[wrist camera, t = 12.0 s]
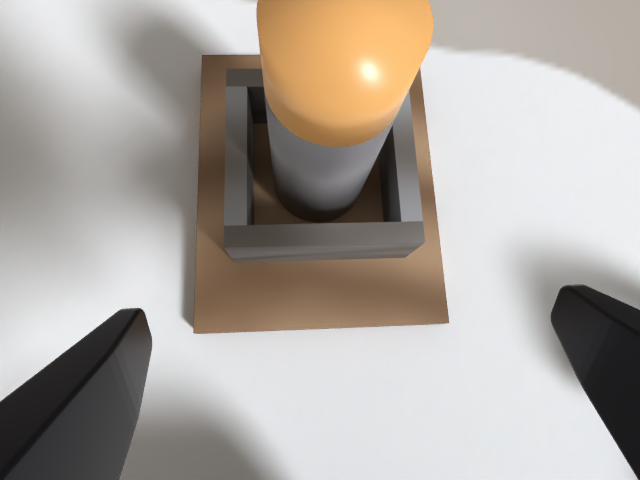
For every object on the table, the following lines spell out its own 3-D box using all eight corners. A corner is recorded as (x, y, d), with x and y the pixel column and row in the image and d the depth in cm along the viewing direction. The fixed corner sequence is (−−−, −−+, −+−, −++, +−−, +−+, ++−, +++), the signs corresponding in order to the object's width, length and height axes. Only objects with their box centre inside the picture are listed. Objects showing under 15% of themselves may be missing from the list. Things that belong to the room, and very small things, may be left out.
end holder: (441, 324, 22) (478, 319, 18) (198, 333, 22) (173, 331, 17) (413, 68, 26) (438, 11, 22) (206, 67, 25) (187, 8, 21)
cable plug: (373, 161, 23) (456, -16, 12) (340, 236, 22) (396, 123, 10) (296, 128, 23) (301, -81, 12) (259, 200, 22) (224, 48, 11)
